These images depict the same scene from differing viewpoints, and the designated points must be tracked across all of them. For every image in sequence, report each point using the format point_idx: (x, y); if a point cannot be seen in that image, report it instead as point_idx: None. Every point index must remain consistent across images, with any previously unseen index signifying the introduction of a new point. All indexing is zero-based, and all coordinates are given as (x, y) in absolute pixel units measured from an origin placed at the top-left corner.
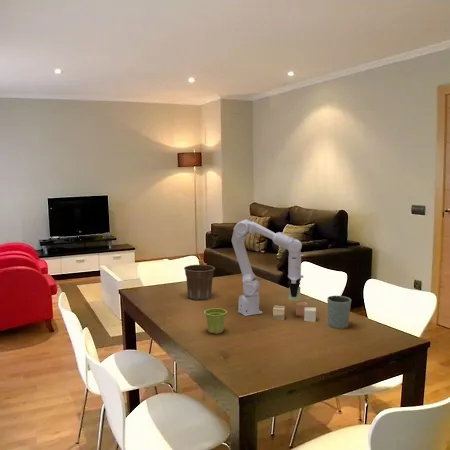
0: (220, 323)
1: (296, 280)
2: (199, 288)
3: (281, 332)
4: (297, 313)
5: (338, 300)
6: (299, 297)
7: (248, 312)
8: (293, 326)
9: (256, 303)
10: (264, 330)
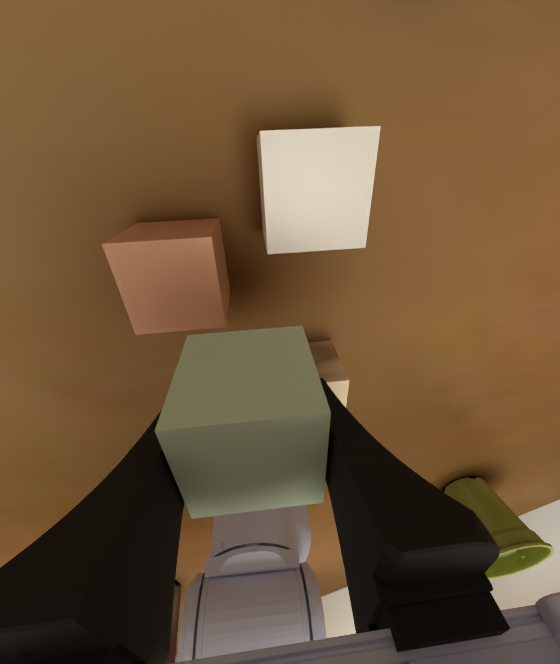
0: (512, 511)
1: (134, 596)
2: (170, 637)
3: (515, 322)
4: (228, 288)
5: None
6: (307, 346)
7: None
8: (437, 280)
9: None
10: (475, 385)
